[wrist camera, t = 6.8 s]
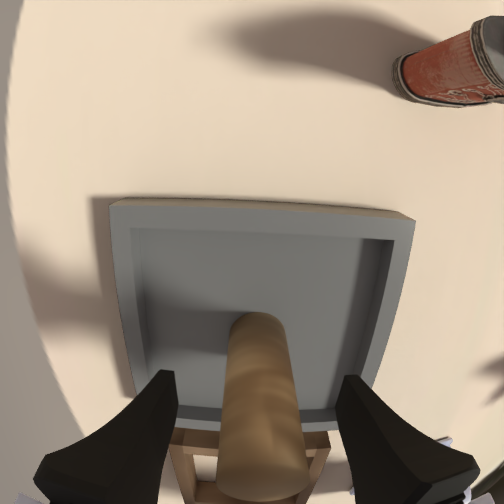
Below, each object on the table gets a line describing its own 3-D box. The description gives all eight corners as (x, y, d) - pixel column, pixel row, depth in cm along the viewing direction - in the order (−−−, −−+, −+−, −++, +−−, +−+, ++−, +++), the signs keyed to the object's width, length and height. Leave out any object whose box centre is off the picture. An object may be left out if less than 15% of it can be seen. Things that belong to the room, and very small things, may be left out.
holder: (325, 422, 20) (331, 447, 18) (301, 487, 24) (304, 507, 21) (173, 418, 20) (167, 443, 17) (188, 484, 23) (185, 504, 21)
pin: (288, 312, 16) (318, 460, 7) (282, 358, 17) (301, 499, 8) (229, 310, 16) (214, 460, 7) (229, 356, 17) (217, 500, 8)
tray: (398, 211, 15) (415, 220, 13) (349, 408, 20) (355, 427, 18) (125, 197, 15) (109, 205, 13) (150, 402, 19) (144, 422, 17)
